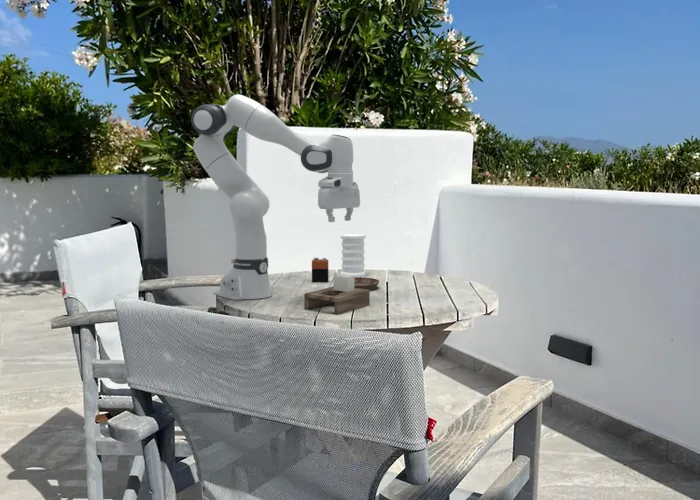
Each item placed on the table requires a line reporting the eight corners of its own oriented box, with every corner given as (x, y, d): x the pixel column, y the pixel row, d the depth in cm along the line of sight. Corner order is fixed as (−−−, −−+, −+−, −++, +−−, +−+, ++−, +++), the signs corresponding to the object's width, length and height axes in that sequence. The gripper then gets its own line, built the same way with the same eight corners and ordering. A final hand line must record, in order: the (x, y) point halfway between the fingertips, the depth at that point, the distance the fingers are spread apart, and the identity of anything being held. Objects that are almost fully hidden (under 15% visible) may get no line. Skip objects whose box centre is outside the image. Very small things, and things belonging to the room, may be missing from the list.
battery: (312, 280, 260) (312, 257, 259) (328, 280, 260) (328, 257, 259) (311, 282, 256) (311, 258, 254) (328, 282, 256) (328, 258, 254)
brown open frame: (304, 308, 205) (304, 293, 204) (336, 300, 219) (336, 285, 219) (338, 314, 197) (338, 298, 196) (369, 304, 211) (369, 289, 211)
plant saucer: (341, 293, 232) (341, 285, 232) (329, 285, 249) (329, 278, 249) (385, 291, 237) (385, 283, 237) (371, 283, 254) (371, 276, 254)
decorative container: (371, 276, 272) (371, 235, 269) (348, 278, 266) (348, 236, 264) (357, 272, 281) (357, 233, 279) (335, 274, 276) (335, 234, 274)
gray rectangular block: (333, 300, 211) (332, 275, 210) (340, 298, 214) (340, 274, 213) (347, 302, 207) (347, 277, 206) (354, 300, 211) (354, 275, 210)
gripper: (350, 181, 225) (349, 219, 227) (315, 181, 209) (314, 222, 211) (364, 182, 221) (363, 220, 223) (329, 182, 205) (329, 223, 207)
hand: (339, 221), depth 217 cm, fingers open, 8 cm apart
